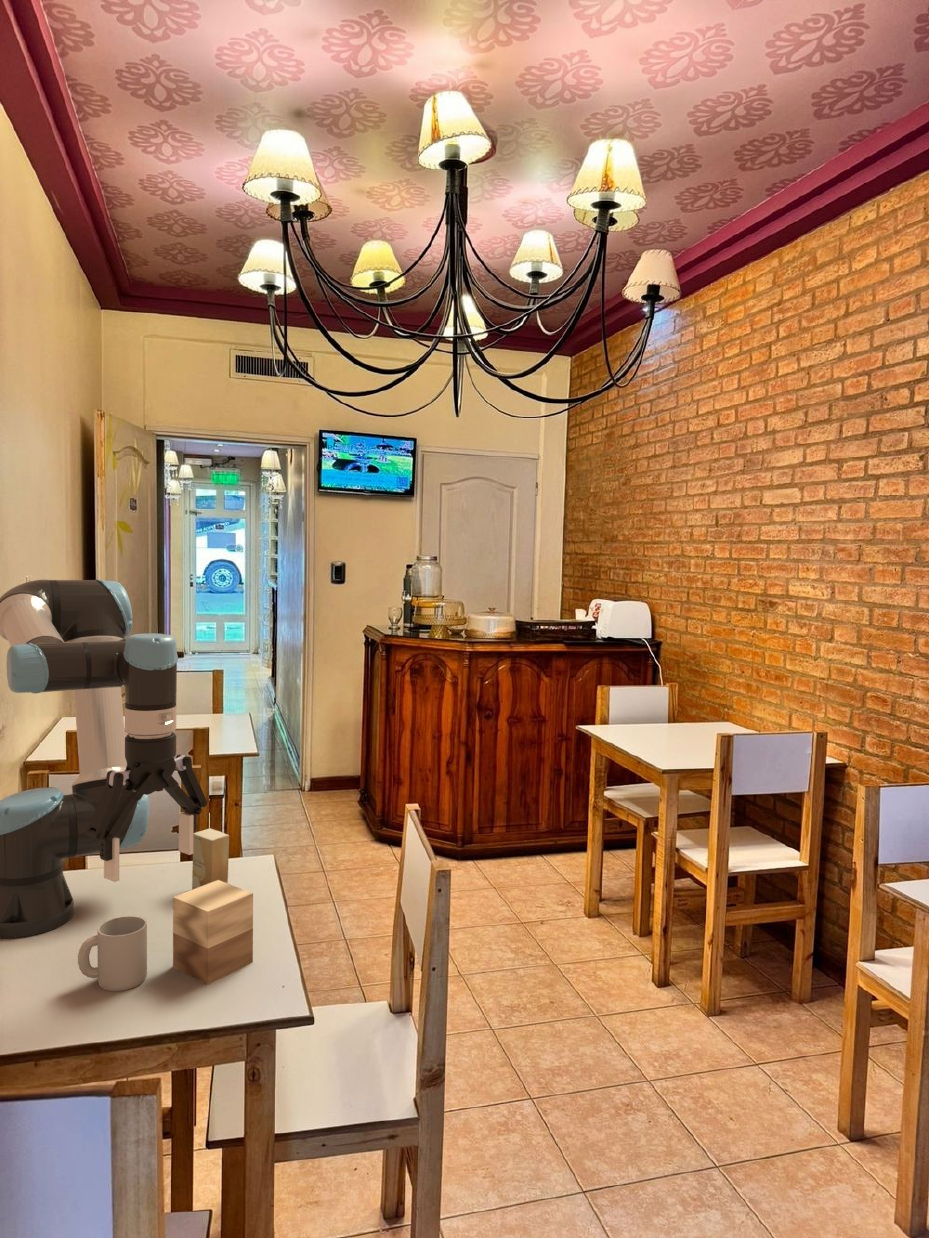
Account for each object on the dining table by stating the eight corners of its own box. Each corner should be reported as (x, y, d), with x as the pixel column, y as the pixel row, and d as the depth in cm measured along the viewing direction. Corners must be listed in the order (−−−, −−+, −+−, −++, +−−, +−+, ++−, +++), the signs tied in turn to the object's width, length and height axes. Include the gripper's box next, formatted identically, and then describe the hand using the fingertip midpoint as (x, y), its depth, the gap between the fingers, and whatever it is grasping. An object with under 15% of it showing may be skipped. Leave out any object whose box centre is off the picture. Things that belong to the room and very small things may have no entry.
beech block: (173, 932, 132) (172, 896, 132) (218, 913, 140) (218, 879, 139) (207, 948, 127) (208, 911, 127) (252, 928, 135) (253, 893, 134)
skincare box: (191, 892, 162) (191, 832, 161) (209, 885, 166) (209, 827, 165) (211, 900, 159) (211, 839, 158) (229, 893, 162) (229, 833, 161)
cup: (148, 986, 126) (148, 931, 126) (77, 999, 122) (77, 942, 122) (145, 965, 133) (145, 912, 132) (78, 976, 129) (78, 922, 128)
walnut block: (173, 967, 133) (173, 932, 132) (217, 947, 140) (218, 913, 140) (208, 985, 128) (208, 948, 127) (252, 962, 135) (253, 928, 135)
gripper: (91, 752, 113) (91, 898, 115) (229, 723, 134) (228, 847, 136) (60, 744, 117) (61, 885, 119) (199, 717, 138) (198, 837, 140)
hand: (150, 865), depth 128 cm, fingers open, 13 cm apart
